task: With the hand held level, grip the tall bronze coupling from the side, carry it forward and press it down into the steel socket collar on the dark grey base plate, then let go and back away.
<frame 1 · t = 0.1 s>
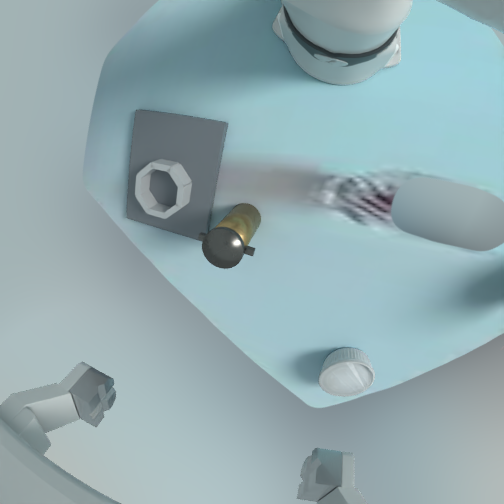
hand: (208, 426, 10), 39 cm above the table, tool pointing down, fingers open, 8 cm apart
socket base: (171, 184, 48), on the table
ramekin: (346, 361, 57), on the table
coupling: (245, 218, 48), on the table
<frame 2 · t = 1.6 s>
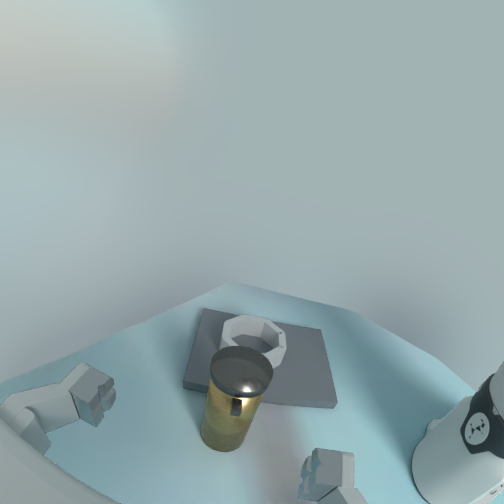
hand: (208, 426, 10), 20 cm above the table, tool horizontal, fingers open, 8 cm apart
socket base: (248, 357, 41), on the table
coupling: (222, 433, 29), on the table
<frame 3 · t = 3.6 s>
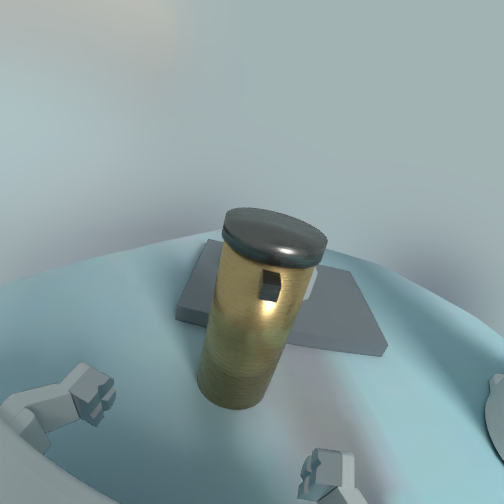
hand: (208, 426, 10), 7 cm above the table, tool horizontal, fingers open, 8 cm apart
socket base: (264, 293, 33), on the table
coupling: (231, 382, 20), on the table
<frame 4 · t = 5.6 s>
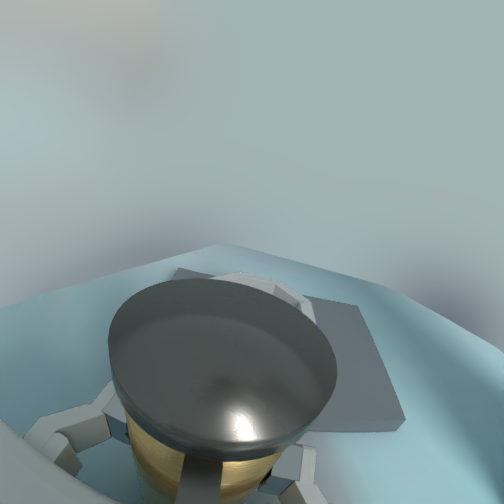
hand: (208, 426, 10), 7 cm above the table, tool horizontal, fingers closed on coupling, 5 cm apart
socket base: (246, 345, 24), on the table
coupling: (189, 493, 11), on the table, touching gripper
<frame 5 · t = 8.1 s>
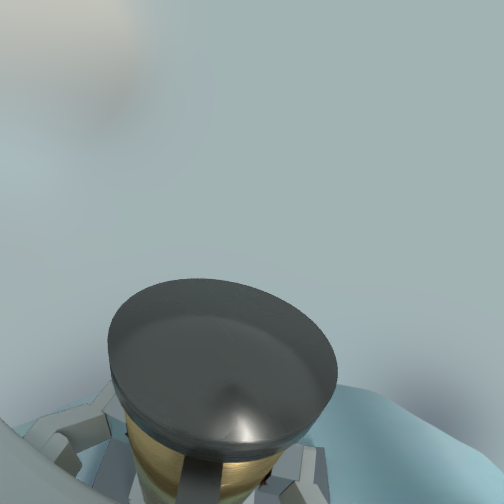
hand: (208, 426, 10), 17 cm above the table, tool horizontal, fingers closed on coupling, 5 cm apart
coupling: (189, 494, 11), point 10 cm above the table, touching gripper
when the fingers open (9 cm above the table, at t = 10.7 s): coupling stays where it is, resting on socket base.
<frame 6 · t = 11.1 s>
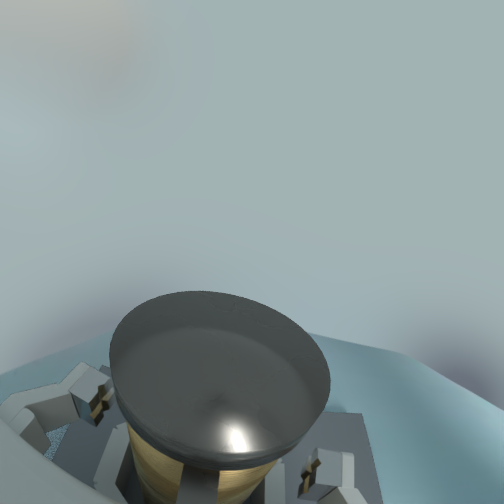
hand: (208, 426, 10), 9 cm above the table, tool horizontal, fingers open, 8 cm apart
socket base: (187, 501, 12), on the table
coupling: (188, 495, 11), point 1 cm above the table, touching socket base
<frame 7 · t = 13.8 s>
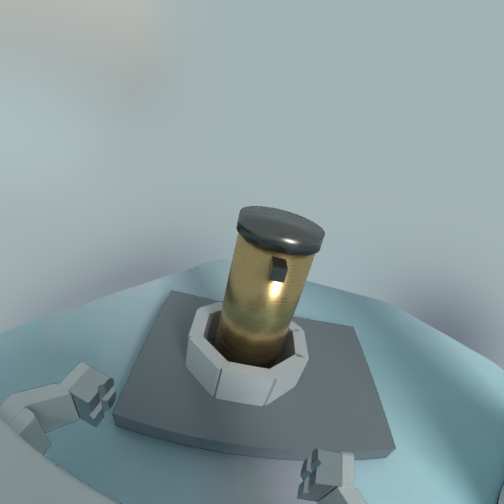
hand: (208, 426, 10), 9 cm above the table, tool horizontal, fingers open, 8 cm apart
socket base: (238, 373, 24), on the table
coupling: (242, 361, 23), point 1 cm above the table, touching socket base
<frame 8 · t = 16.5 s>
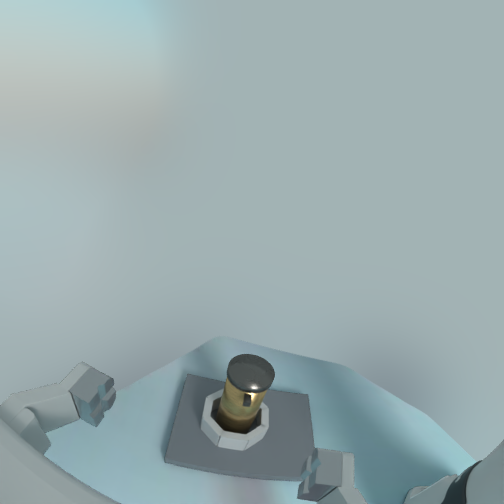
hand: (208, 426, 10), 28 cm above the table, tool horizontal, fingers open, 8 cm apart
socket base: (230, 428, 37), on the table
coupling: (232, 423, 37), point 1 cm above the table, touching socket base
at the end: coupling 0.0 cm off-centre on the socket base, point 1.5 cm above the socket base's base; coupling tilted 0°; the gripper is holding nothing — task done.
